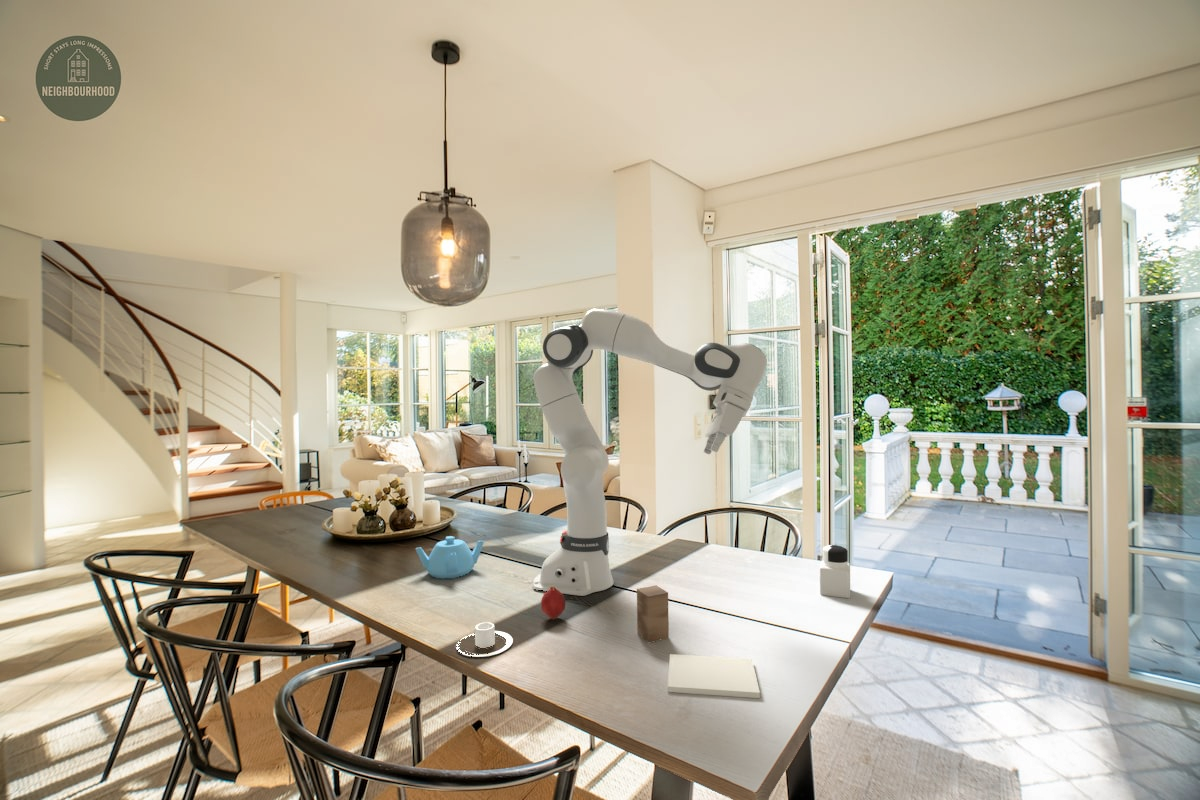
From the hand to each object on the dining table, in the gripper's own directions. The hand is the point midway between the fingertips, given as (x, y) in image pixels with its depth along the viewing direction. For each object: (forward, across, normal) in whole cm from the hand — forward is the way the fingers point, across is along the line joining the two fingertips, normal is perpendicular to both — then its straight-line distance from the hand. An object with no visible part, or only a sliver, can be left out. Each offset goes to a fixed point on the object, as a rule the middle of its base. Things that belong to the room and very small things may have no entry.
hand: (709, 452), depth 139 cm
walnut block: (+44, +13, +3) cm, 46 cm away
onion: (+53, +4, -18) cm, 56 cm away
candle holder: (+61, +16, -29) cm, 70 cm away
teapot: (+63, -30, -51) cm, 87 cm away
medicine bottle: (+18, -11, +46) cm, 51 cm away
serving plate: (+42, +30, +13) cm, 54 cm away
